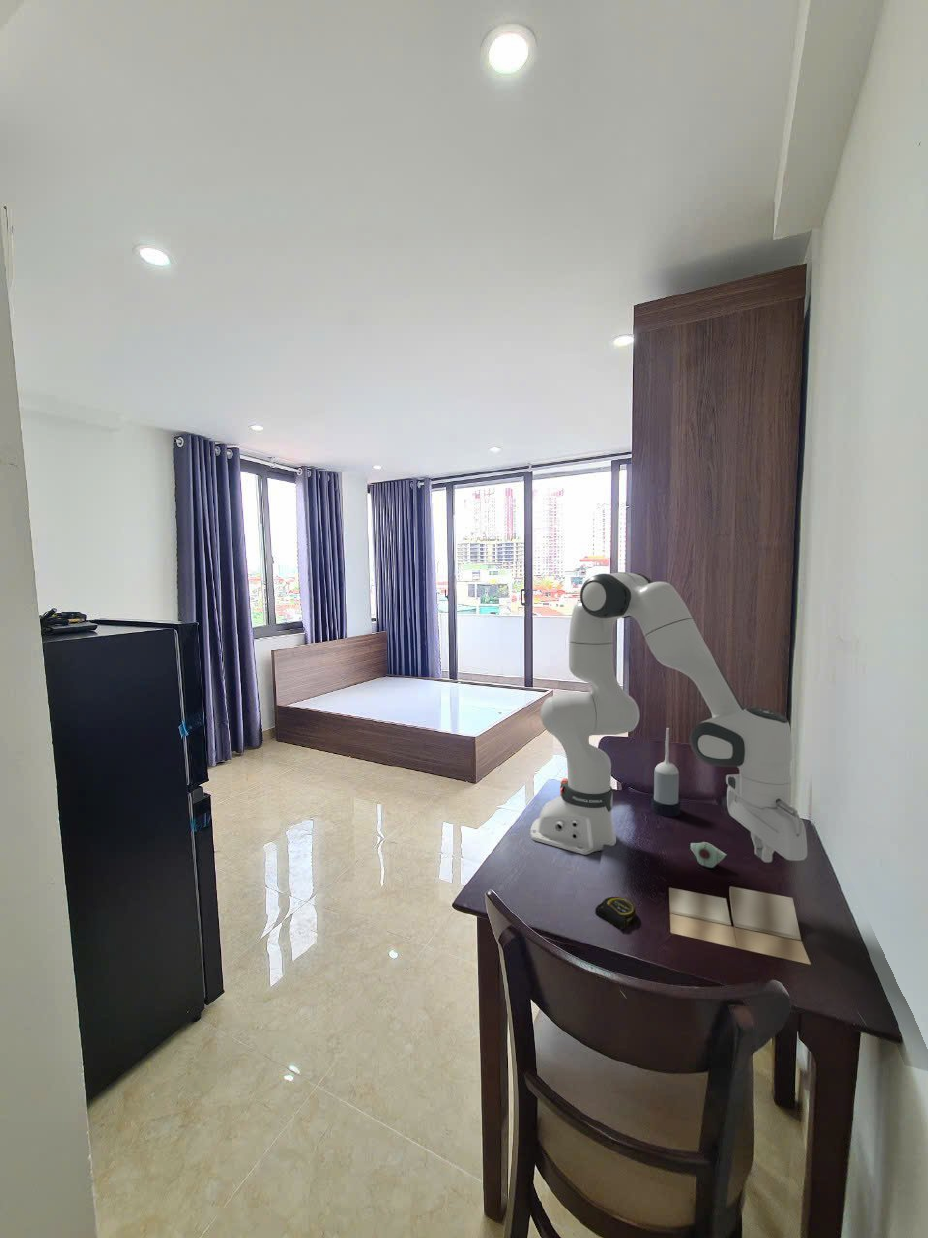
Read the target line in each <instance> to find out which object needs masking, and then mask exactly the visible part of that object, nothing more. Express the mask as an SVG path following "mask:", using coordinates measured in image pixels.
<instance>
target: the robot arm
mask: <svg viewBox="0 0 928 1238" xmlns="http://www.w3.org/2000/svg"><path fill="white" fill-rule="evenodd" d="M579 600H580V601H578V602H577V603H576V604H575V605H574V606H573V610H572V615H571V620H570V626H569V638H568V639H569V640H568V641H569V642H568V643H569V644H568V646H569V647H568V667H569V670H570V672H571V674H573V676H575V677H576V678H578V679H579V680H581V681H583V682H584V683H588V684H589V687H590V692H587V693H562V694H558V695H553V696H549V697H547V698H546V699H545V701H544V702H543V703H542V705H541V709H540V719H541V720H540V721H541V723H542V726H543V728H544V729H546V731H547V732H548V733H549V734H551V735H552V736H553V737H554V738H556V740H557V741H558V742H559V743H560V744H561V746H562V748H563V750H564V752H565V757H566V762H567V763H566V764H567V778H566V777H564V778H563V779H561V782H560V787H559V795H558V796H557V797H555V798H553V799H551V800H549V801H547V802H546V804H544V805H543V806H542V809H541V810H540V813H539V817H537V818H536V819H534V821H533V822H532V823H531V824H532V825H531V826H530V833H529V835H530V837H531V839H532V840H533V841H536V842H538V843H539V842H540V843H543V844H546V845H549V846H553V847H557V848H560V849H564V850H567V851H571V852H574V853H577V854H580V855H584V856H585V855H590V854H591V853H592V854H593V852H598V851H603V850H604V847H605V846H611V847H613V846H615V844H616V843H617V837H616V833H615V829H614V825H613V818H612V817H613V816H612V810H613V795H614V794H613V787H612V786H611V775H612V773H611V772H612V771H611V770H612V769H611V768H612V762H611V759H610V757H609V755H608V754H607V752H605V751H603V750H602V749H600V748H598V747H597V746H595V745H592V744H590V737H592V736H617V735H621V734H625V733H631V732H633V731H634V730H635V728H637V726H638V725H639V724H638V723H639V721H640V708H639V705H638V703H637V702H636V701H635V699H634V698H633V697H632V696H630V695H629V694H628V693H627V692H625V691H624V690H623V688H622V687H621V686H620V684H619V682H618V680H617V677H616V675H615V670H614V669H615V668H614V655H613V653H614V651H613V648H614V647H613V646H614V633H613V632H614V625H615V622H617V620H619V619H620V618H621V619H628V618H631V617H632V618H634V619H635V620H636V621H637V623H638V625H639V627H640V629H641V632H642V635H643V637H644V640H645V642H646V644H647V646H648V648H649V650H650V652H651V653H652V655H653V657H655V660H656V661H657V662H659V663H660V664H661V665H663V666H665V667H667V668H670V669H673V670H676V671H678V672H680V673H682V674H684V675H685V676H687V677H689V679H691V680H692V681H693V682H694V685H696V687H697V689H698V690H699V692H700V695H701V696H702V698H703V699H704V701H705V704H706V705H707V707H708V708H709V711H710V712H711V717H710V718H708V719H706V720H703V721H700V722H699V723H698V724H696V725H694V727H693V728H692V730H691V731H690V732H691V733H690V735H689V742H690V747H691V749H692V751H693V753H694V755H695V756H696V757H697V758H698V759H699V760H700V761H701V762H703V763H704V764H706V765H709V766H714V767H724V768H738V770H739V773H736V774H735V773H733V774H727V775H726V776H725V782H726V784H727V788H726V804H727V805H726V807H727V812H728V814H729V816H730V817H731V818H733V819H734V820H735V821H737V822H738V823H740V824H741V826H743V827H744V828H746V829H747V830H748V831H749V832H750V838H751V841H752V842H753V846H754V855H755V856H756V857H758V858H759V859H760V860H761V861H762V862H764V863H771V862H773V854H774V852H776V853H777V854H779V856H782V857H783V858H784V859H785V860H786V861H804V860H806V859H807V857H808V842H807V832H806V830H807V829H806V825H805V823H804V821H803V819H802V817H800V815H799V813H798V811H797V809H796V808H794V807H792V806H791V803H792V776H791V772H790V766H791V765H790V764H791V762H792V759H793V746H792V745H793V743H792V731H791V726H790V723H789V720H788V719H787V718H786V717H785V716H784V715H782V714H781V713H779V712H778V711H776V710H772V709H771V708H766V707H760V706H759V707H758V706H749V707H746V708H745V707H744V706H743V705H742V703H741V702H740V701H739V699H738V697H737V695H736V693H735V691H734V690H733V688H732V686H731V685H730V683H729V681H728V679H727V678H726V676H725V674H724V673H723V670H722V669H721V667H720V665H719V664H718V662H717V660H716V659H715V657H714V656H713V654H712V653H711V650H710V649H709V648H708V645H707V644H706V643H705V641H704V639H703V636H702V635H701V633H700V630H699V628H698V626H697V624H696V622H695V620H694V618H693V616H692V614H691V612H690V610H689V609H688V607H687V605H686V604H685V602H684V600H683V599H682V596H681V595H680V594H679V592H678V591H677V590H676V589H675V587H674V586H673V585H672V584H670V583H669V582H666V581H653V580H652V579H651V578H650V577H648V576H646V575H645V574H641V573H636V572H633V573H632V572H625V571H621V572H620V571H617V572H611V573H599V574H595V575H593V576H591V577H589V578H587V579H586V580H585V581H584V582H583V584H582V586H581V587H580V592H579ZM604 845H605V846H604Z"/></svg>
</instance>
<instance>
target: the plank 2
mask: <svg viewBox="0 0 928 1238" xmlns="http://www.w3.org/2000/svg"><path fill="white" fill-rule="evenodd" d="M728 889H729V890H728V891H729V901H730V910H731V911H730V913H731V920H732V922H733V927H736V928H740V929H745V930H750V931H754V932H759V933H764V934H768V935H773V936H778V937H782V938H787V939H792V940H796V941H801V942H802V938H801V937H802V936H801V933H800V928H799V922H798V919H797V913H796V907H795V904H794V898H793V897H789V896H783V895H778V894H774V893H768V892H763V891H759V890H758V891H757V890H752V889H747V888H742V887H736V886H731V885H730V886H729V888H728Z"/></svg>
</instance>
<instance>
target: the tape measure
mask: <svg viewBox="0 0 928 1238" xmlns="http://www.w3.org/2000/svg"><path fill="white" fill-rule="evenodd" d="M594 910H595V911H594V912H595V915H596V916H598V917H599V918H601V919H603V920H605V921H606V922H608V923H609V924H611V925H612V926H613V927H615V928H617V929H618V930H619V931H620V932H621V933H622V932H624V931H625V930H626V929H627V928H628V927H629V926H630V925H635V924H636V923H637V922H638V916H637V913H636V907H635V906H634V904H632V902H630V901H629V900H627V899H625V898H622V897H618V896H611V897H606V898H604V900H602V902H601V903H599V904H598V905H597V906H596V907H595V909H594Z"/></svg>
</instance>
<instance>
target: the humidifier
mask: <svg viewBox="0 0 928 1238" xmlns="http://www.w3.org/2000/svg"><path fill="white" fill-rule="evenodd" d="M669 741H670V728H669V727H666V730H665V757H664V758H665V759H664V761H663V762H659V763H658V764H657V765H656V767H654V775H653V777H654V778H653V782H654V783H653V797H652V798H651V804H650V807H651V809H650V810H651V811H653V813H655V814H657V815H659V816H662V817H672V818H673V817H674V818H675V817H678V816H679V815H681V812H682V810H681V809H682V807H681V806H682V805H681V801H680V800H679V785H680V783H679V782H680V781H679V779H680V776H679V775H680V774H679V769H678V768H677V767H676V766H675V764H673V763H671V762H670V761H669V755H670V750H669V748H670V747H669V743H670V742H669Z"/></svg>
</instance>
